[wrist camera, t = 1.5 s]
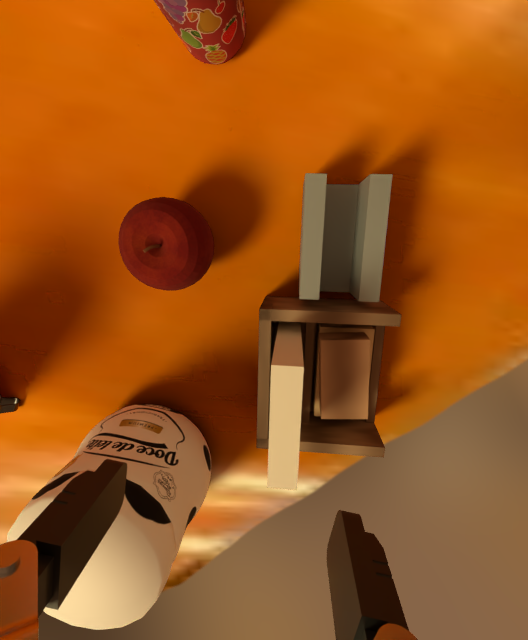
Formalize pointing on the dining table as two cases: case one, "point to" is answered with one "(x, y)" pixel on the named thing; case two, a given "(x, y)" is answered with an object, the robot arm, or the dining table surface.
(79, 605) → the milk container
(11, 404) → the coffee press
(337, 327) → the offcut large
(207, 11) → the smoothie
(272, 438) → the cream rectangular board
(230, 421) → the dining table surface
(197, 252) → the apple
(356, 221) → the holder
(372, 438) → the box
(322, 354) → the offcut small
